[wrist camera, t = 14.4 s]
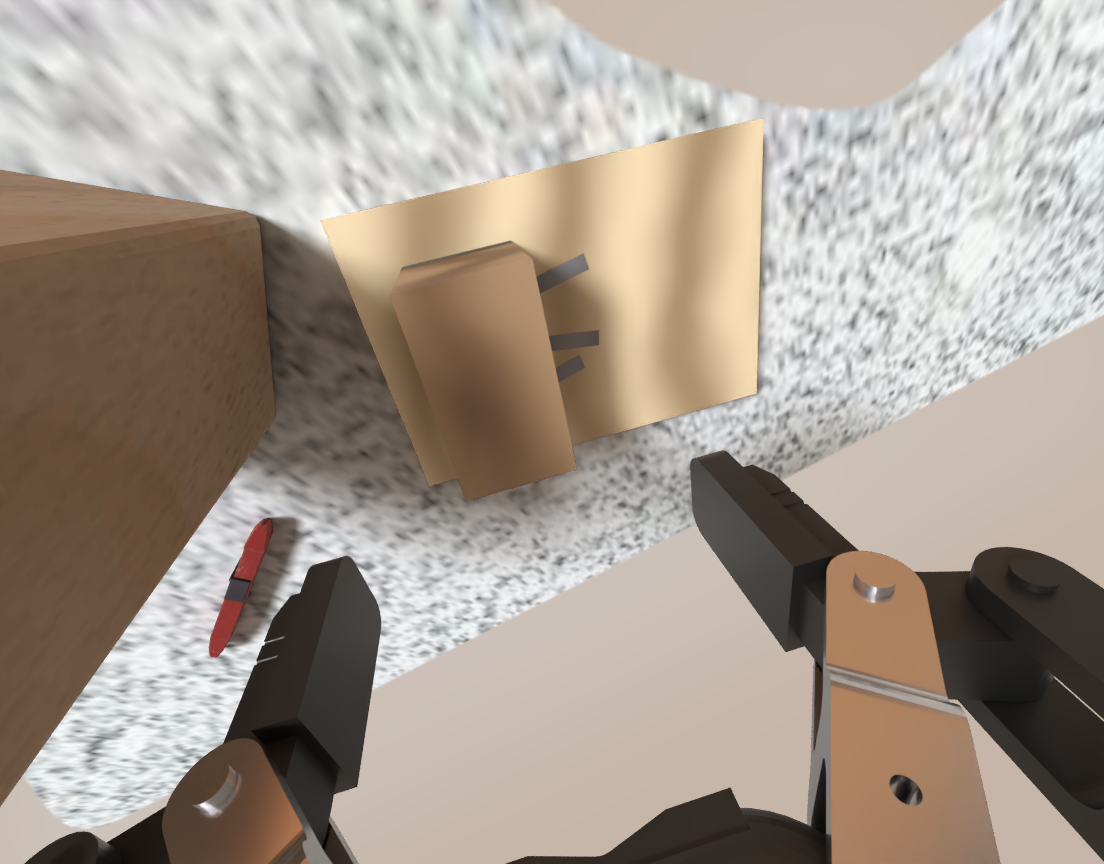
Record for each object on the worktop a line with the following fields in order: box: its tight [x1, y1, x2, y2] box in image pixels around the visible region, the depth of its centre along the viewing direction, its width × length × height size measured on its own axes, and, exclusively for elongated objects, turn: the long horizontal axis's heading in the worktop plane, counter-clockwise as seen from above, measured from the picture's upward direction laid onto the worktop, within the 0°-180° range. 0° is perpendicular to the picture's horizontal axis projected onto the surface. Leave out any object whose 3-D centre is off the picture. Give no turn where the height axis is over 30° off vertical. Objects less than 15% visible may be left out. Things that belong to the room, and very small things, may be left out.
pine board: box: [321, 118, 764, 486], centre depth 24 cm, size 20×14×2 cm
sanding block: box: [389, 240, 577, 502], centre depth 21 cm, size 5×9×6 cm, turn 11°
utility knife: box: [209, 519, 273, 657], centre depth 28 cm, size 12×1×2 cm, turn 150°
